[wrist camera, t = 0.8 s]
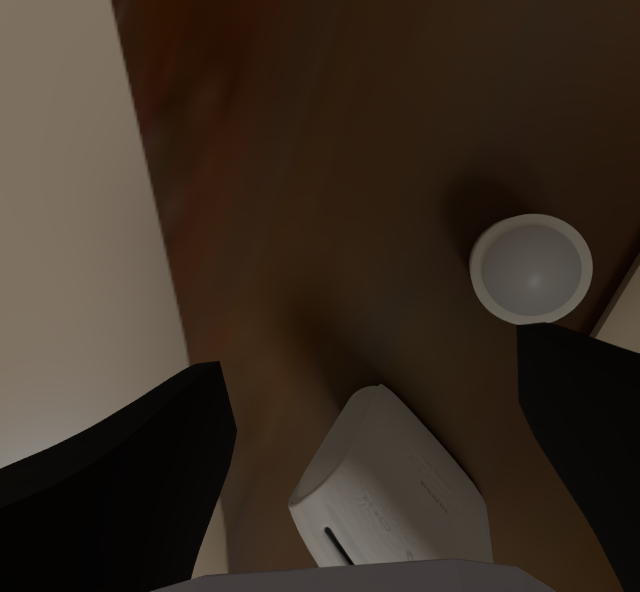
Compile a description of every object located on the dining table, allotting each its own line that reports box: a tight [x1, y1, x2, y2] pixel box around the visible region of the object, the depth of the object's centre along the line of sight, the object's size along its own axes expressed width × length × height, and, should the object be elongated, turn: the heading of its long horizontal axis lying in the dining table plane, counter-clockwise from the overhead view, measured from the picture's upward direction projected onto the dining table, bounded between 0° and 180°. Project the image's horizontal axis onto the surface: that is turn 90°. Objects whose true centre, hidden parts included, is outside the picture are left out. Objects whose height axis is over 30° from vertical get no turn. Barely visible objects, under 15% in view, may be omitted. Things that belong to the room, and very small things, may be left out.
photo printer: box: [288, 384, 493, 567], centre depth 23 cm, size 10×4×12 cm, turn 43°
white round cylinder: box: [469, 214, 593, 325], centre depth 23 cm, size 5×5×5 cm
